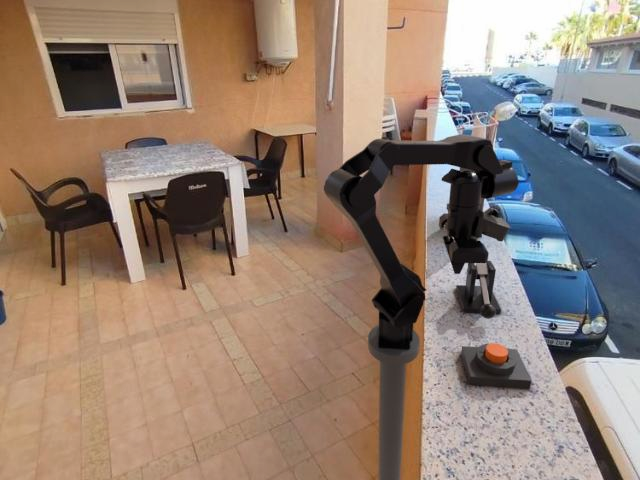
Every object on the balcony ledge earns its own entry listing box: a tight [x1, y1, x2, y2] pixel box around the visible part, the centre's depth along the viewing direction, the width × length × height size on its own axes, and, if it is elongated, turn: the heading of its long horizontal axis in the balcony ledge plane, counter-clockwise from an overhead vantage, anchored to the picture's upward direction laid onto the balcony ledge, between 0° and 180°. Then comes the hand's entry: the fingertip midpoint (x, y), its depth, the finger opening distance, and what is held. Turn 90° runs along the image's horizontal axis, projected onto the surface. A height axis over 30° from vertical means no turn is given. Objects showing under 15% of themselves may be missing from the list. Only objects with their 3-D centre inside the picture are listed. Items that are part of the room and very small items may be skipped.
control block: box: [460, 343, 532, 390], centre depth 68 cm, size 10×8×4 cm
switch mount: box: [455, 260, 502, 315], centre depth 87 cm, size 10×8×10 cm
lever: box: [475, 263, 496, 320], centre depth 83 cm, size 13×3×3 cm, turn 172°
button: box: [485, 342, 508, 364], centre depth 67 cm, size 4×4×2 cm
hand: (456, 273), depth 78 cm, fingers closed
